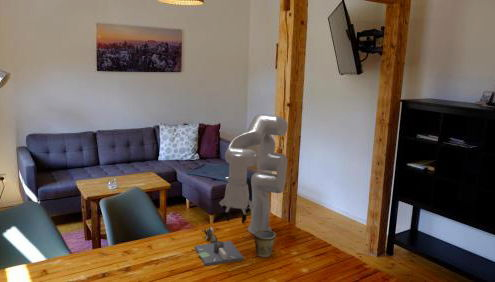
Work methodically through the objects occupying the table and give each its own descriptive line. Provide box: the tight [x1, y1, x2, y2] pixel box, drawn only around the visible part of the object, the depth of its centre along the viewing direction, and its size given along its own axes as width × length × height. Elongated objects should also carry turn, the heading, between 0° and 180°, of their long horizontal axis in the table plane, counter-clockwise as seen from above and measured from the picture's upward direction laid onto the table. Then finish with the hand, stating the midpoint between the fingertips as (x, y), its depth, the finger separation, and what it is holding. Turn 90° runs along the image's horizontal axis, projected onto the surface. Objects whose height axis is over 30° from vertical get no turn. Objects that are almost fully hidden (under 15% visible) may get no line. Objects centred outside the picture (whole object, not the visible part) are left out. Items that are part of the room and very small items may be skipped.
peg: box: [214, 240, 227, 260], centre depth 184 cm, size 11×4×4 cm, turn 22°
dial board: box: [194, 240, 245, 267], centre depth 187 cm, size 18×19×1 cm
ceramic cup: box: [253, 229, 277, 258], centre depth 190 cm, size 13×10×10 cm
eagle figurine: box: [200, 226, 218, 244], centre depth 202 cm, size 8×7×9 cm
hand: (236, 220), depth 177 cm, fingers open, 5 cm apart
